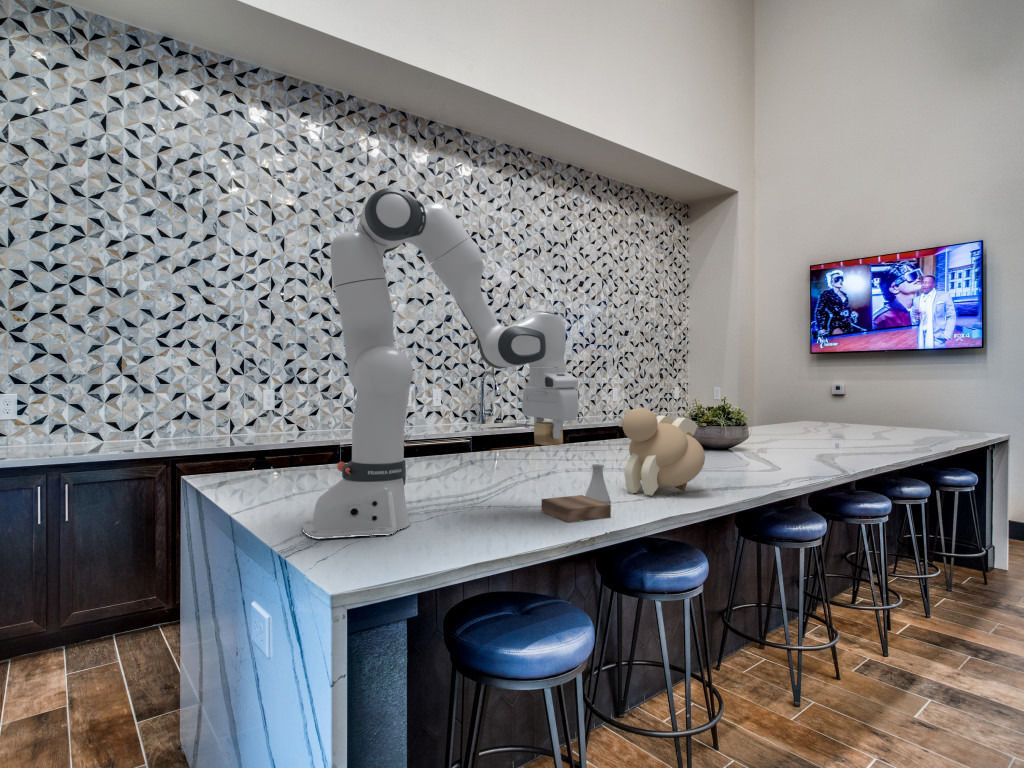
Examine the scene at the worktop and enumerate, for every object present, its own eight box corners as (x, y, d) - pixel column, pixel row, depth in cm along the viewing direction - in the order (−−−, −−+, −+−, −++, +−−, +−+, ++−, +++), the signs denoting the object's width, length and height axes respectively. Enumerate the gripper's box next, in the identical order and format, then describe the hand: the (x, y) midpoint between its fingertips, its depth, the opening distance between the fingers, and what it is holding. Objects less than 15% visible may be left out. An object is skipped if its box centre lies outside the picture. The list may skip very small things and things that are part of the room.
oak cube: (545, 445, 137) (544, 424, 137) (534, 443, 141) (534, 422, 141) (562, 444, 139) (562, 423, 139) (551, 441, 144) (551, 421, 143)
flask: (609, 499, 158) (610, 463, 158) (611, 505, 151) (612, 467, 150) (583, 498, 159) (583, 462, 158) (583, 504, 151) (584, 466, 151)
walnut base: (568, 522, 132) (568, 509, 132) (541, 511, 143) (541, 499, 143) (610, 517, 138) (610, 504, 138) (581, 506, 149) (581, 495, 149)
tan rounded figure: (635, 377, 179) (702, 379, 162) (667, 442, 192) (733, 449, 175) (585, 447, 164) (653, 457, 147) (624, 511, 177) (691, 527, 160)
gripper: (515, 379, 147) (516, 433, 148) (559, 380, 129) (560, 442, 130) (537, 378, 150) (537, 432, 151) (582, 379, 132) (583, 440, 133)
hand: (548, 437), depth 140 cm, fingers closed on oak cube, 5 cm apart
